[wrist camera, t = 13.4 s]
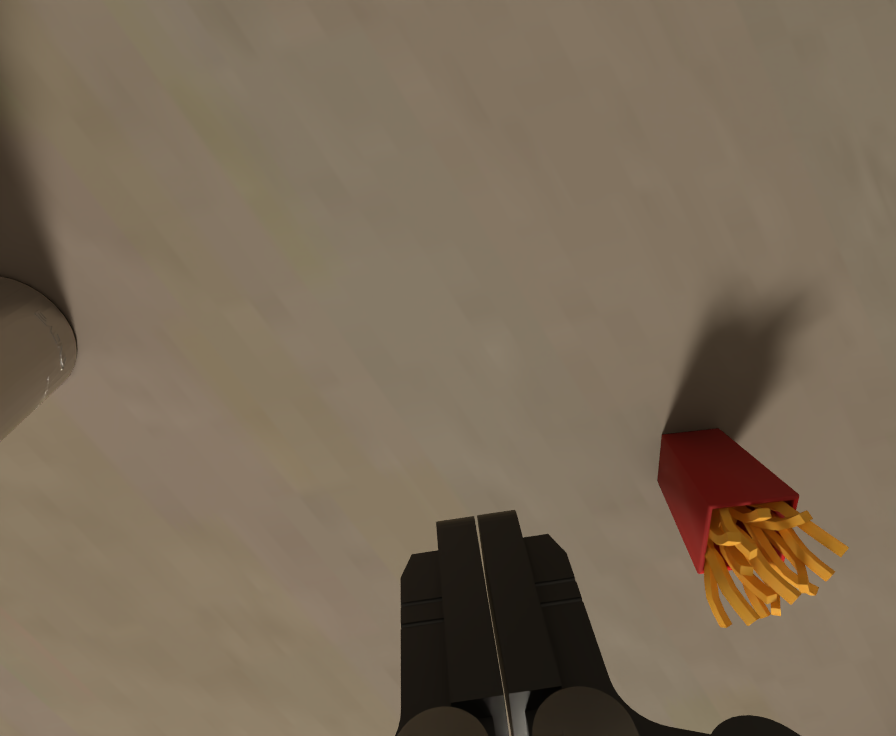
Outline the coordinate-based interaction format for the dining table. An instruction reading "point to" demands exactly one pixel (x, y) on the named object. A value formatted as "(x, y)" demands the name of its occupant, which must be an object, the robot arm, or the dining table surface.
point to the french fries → (738, 523)
